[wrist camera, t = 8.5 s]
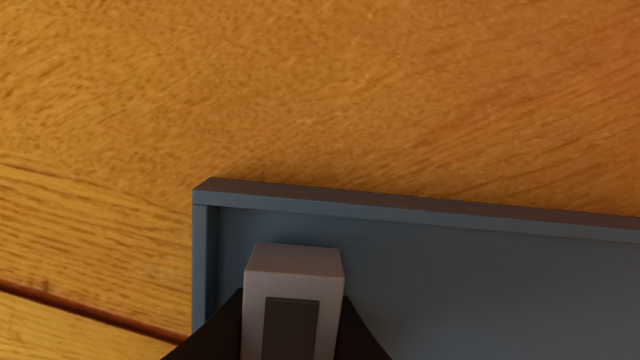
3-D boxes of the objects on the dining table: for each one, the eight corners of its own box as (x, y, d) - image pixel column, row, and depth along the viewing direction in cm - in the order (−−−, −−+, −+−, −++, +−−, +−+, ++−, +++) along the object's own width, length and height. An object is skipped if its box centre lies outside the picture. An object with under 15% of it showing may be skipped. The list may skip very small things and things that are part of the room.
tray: (740, 423, 15) (795, 464, 13) (205, 392, 13) (190, 433, 12) (846, 236, 12) (929, 256, 11) (209, 176, 11) (191, 189, 9)
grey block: (322, 381, 12) (324, 438, 10) (248, 377, 12) (234, 434, 10) (339, 247, 11) (346, 281, 9) (256, 240, 11) (242, 273, 8)
